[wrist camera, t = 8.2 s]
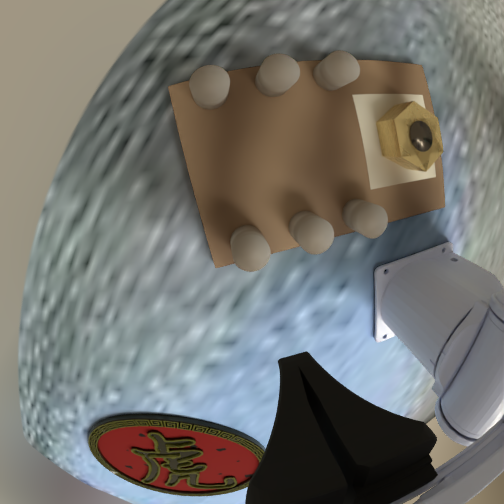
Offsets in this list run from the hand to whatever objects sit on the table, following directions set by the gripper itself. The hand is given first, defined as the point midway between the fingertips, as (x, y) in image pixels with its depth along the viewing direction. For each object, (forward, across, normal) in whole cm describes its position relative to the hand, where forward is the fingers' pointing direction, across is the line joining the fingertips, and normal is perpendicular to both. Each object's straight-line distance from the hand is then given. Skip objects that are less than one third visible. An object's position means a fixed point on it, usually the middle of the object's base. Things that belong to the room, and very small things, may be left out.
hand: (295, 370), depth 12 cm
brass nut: (+8, -13, -9) cm, 18 cm away
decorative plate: (+10, +16, +24) cm, 31 cm away
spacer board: (+9, -7, -9) cm, 15 cm away
